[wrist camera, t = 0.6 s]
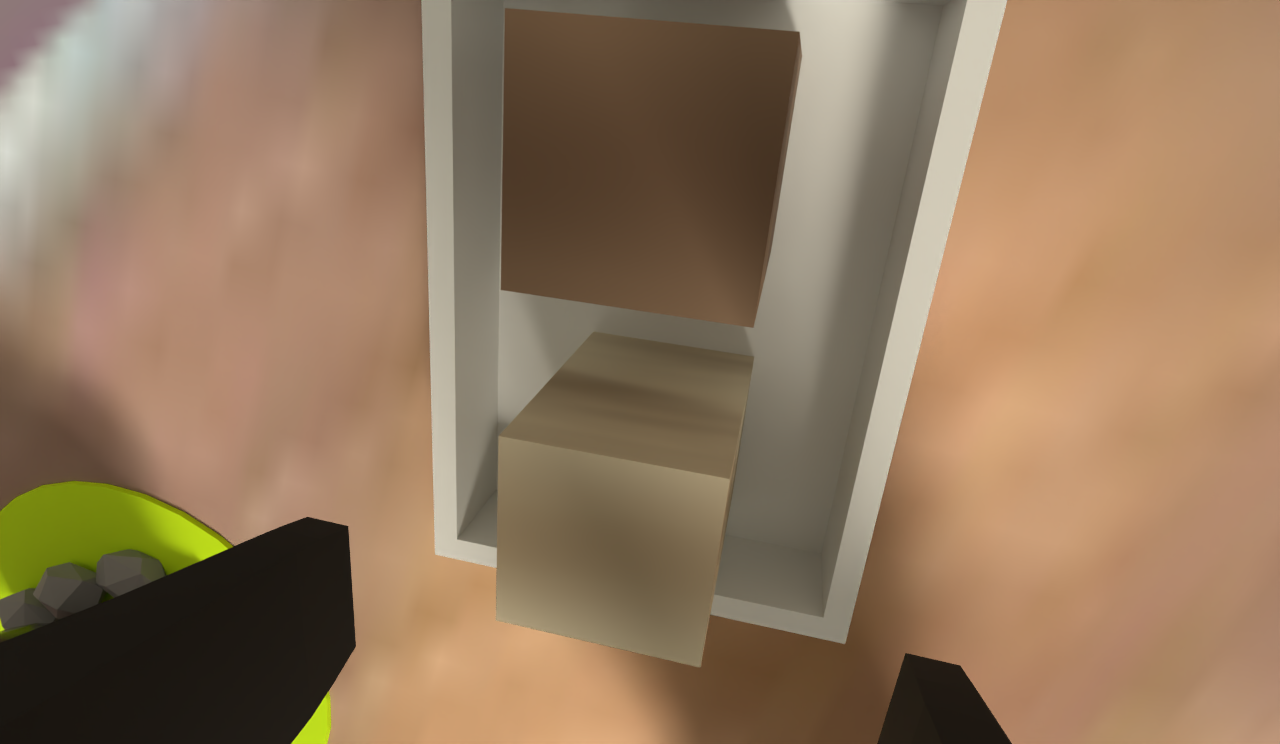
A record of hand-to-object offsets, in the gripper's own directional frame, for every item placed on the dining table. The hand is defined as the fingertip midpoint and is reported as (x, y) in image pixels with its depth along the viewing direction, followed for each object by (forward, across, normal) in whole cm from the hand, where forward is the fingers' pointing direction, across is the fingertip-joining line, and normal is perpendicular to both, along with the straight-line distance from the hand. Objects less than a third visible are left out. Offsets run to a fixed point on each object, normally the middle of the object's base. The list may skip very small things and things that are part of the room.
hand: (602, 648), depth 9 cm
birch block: (+9, +1, +1) cm, 9 cm away
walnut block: (+9, +1, -6) cm, 11 cm away
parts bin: (+10, +1, -2) cm, 10 cm away
